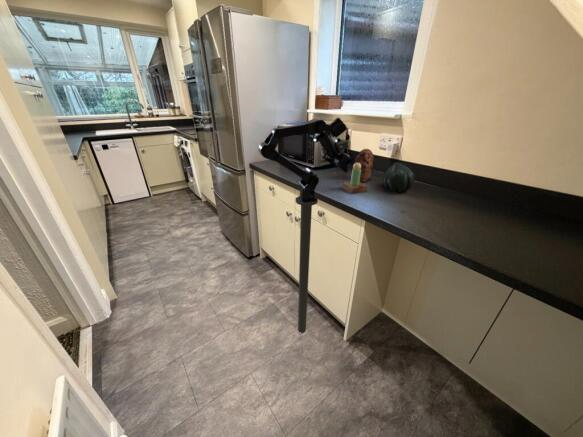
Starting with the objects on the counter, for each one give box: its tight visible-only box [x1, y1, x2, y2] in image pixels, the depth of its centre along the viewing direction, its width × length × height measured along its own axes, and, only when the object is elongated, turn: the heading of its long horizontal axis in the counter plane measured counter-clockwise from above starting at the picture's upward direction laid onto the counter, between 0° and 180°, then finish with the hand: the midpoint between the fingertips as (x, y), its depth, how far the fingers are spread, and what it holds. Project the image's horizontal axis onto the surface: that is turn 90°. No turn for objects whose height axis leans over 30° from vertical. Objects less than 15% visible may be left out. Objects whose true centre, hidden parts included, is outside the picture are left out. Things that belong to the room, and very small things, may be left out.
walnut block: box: [341, 181, 368, 195], centre depth 123 cm, size 9×9×3 cm
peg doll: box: [350, 162, 361, 186], centre depth 120 cm, size 4×4×12 cm
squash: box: [382, 162, 415, 193], centre depth 122 cm, size 14×15×15 cm
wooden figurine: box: [354, 148, 375, 183], centre depth 134 cm, size 12×6×18 cm, turn 128°
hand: (341, 169), depth 116 cm, fingers open, 9 cm apart
